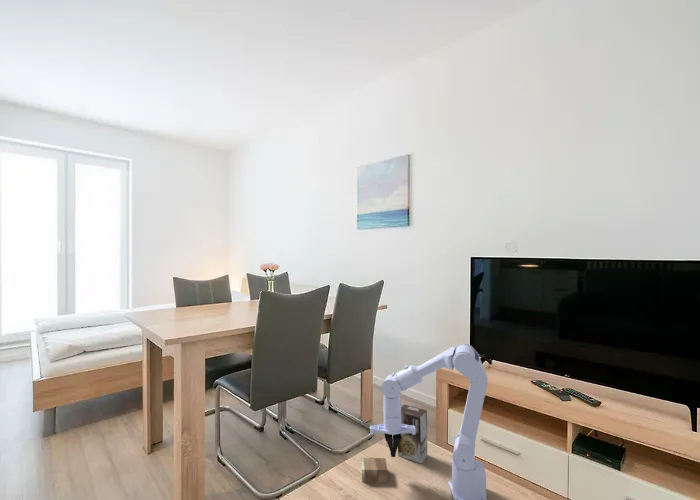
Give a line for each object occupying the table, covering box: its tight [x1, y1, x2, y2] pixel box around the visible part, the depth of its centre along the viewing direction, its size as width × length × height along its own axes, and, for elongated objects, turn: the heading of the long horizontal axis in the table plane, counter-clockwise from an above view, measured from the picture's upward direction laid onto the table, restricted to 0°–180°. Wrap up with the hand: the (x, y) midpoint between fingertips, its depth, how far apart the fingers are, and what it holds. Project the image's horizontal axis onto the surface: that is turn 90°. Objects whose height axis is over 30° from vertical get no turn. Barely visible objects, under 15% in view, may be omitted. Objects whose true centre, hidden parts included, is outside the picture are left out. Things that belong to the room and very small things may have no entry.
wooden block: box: [361, 457, 388, 483], centre depth 111 cm, size 4×6×8 cm
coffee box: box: [397, 404, 428, 464], centre depth 122 cm, size 9×6×16 cm
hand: (393, 455), depth 111 cm, fingers closed
